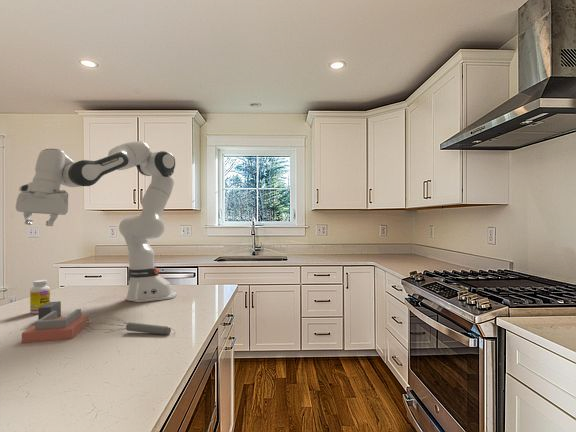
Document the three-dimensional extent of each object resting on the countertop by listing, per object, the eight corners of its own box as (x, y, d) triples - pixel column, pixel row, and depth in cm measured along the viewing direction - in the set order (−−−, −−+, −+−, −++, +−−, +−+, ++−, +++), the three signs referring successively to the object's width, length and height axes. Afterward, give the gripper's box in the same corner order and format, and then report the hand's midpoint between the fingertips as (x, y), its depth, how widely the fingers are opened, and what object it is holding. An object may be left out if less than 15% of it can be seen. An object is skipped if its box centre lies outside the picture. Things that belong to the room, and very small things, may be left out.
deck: (88, 323, 125) (88, 308, 125) (72, 338, 110) (71, 321, 110) (45, 326, 122) (45, 311, 122) (21, 342, 107) (21, 325, 106)
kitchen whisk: (170, 338, 109) (170, 318, 109) (76, 334, 115) (76, 315, 115) (179, 332, 115) (179, 313, 115) (90, 328, 121) (90, 310, 121)
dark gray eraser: (60, 316, 135) (60, 301, 135) (50, 323, 126) (50, 307, 126) (49, 317, 134) (49, 302, 134) (38, 324, 126) (38, 308, 126)
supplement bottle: (39, 314, 138) (39, 282, 138) (26, 313, 139) (25, 282, 139) (54, 310, 145) (53, 279, 144) (41, 309, 146) (40, 279, 146)
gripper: (75, 192, 132) (68, 228, 130) (31, 190, 136) (24, 224, 134) (61, 188, 126) (54, 225, 124) (15, 186, 130) (8, 222, 128)
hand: (38, 225), depth 129 cm, fingers open, 8 cm apart
